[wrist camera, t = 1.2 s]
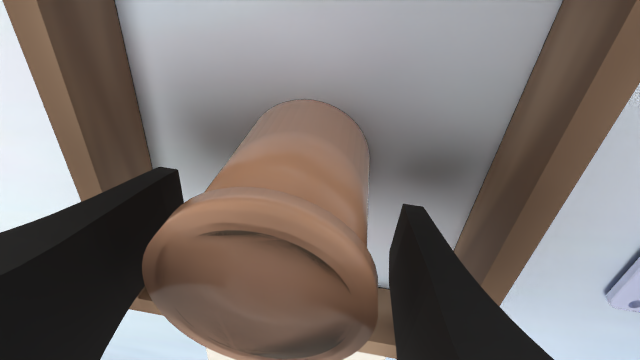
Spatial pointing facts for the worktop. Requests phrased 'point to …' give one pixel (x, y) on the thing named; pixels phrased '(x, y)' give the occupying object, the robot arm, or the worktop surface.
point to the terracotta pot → (275, 244)
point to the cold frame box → (500, 183)
